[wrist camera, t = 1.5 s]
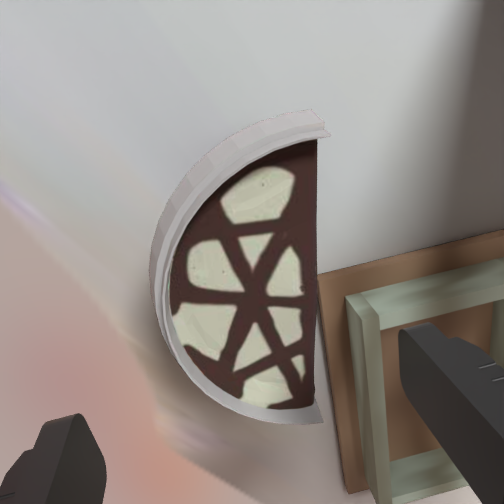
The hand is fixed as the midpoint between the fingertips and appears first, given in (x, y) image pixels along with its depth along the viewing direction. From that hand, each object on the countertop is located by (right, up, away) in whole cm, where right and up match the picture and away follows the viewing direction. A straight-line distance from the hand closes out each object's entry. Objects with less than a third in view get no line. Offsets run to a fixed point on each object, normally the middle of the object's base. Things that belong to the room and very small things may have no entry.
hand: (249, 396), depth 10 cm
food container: (-2, +6, +13) cm, 14 cm away
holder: (+13, -5, +19) cm, 24 cm away
